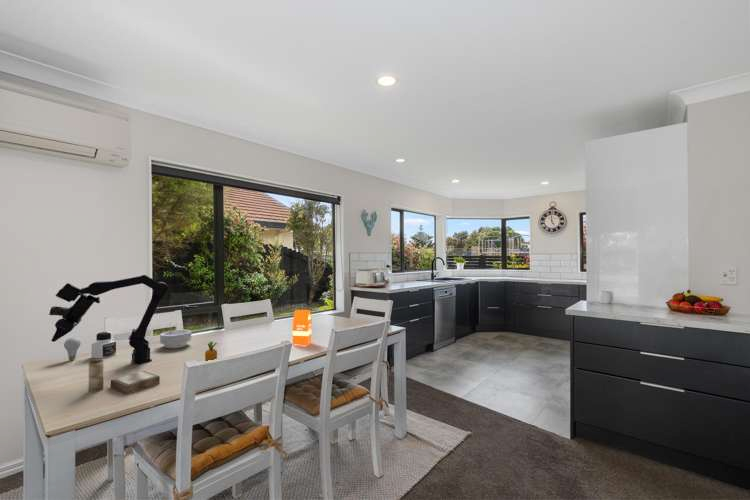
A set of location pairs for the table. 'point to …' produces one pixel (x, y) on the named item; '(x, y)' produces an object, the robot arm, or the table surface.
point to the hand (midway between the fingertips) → (55, 338)
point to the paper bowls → (175, 338)
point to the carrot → (211, 352)
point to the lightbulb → (72, 347)
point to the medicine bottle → (103, 346)
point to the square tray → (134, 382)
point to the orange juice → (302, 327)
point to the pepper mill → (96, 375)
